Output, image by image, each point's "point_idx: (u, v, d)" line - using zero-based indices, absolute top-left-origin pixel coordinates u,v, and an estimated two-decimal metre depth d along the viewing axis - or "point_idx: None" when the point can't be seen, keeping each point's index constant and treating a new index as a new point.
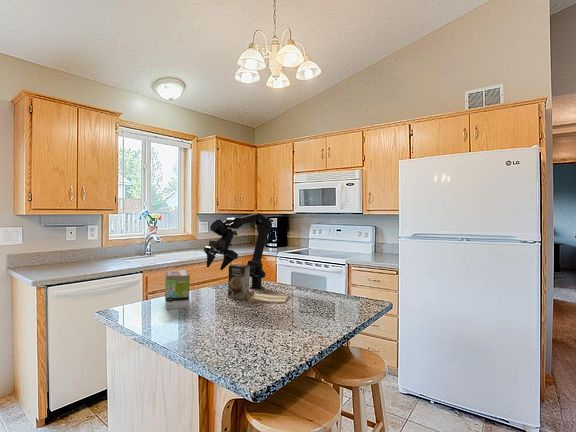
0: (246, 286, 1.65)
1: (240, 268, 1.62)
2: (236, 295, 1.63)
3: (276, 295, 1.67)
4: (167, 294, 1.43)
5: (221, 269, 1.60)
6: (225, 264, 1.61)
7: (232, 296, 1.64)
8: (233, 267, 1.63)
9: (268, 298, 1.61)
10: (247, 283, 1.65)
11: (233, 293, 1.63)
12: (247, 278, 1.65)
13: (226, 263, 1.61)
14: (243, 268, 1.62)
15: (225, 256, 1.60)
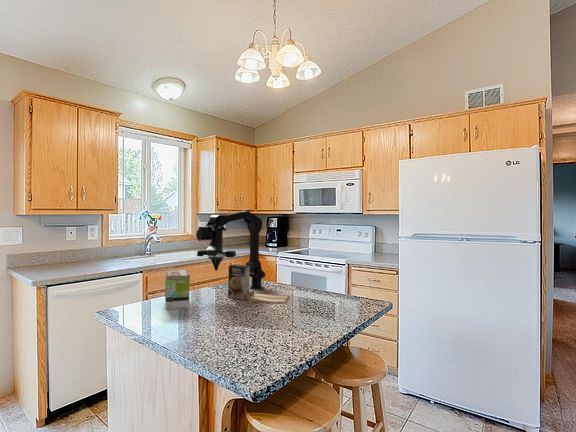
0: (246, 286, 1.65)
1: (240, 268, 1.62)
2: (236, 295, 1.63)
3: (276, 295, 1.67)
4: (167, 294, 1.43)
5: None
6: (219, 264, 1.68)
7: (232, 296, 1.64)
8: (233, 267, 1.63)
9: (268, 298, 1.61)
10: (247, 283, 1.65)
11: (233, 293, 1.63)
12: (247, 278, 1.65)
13: (219, 262, 1.68)
14: (243, 268, 1.62)
15: (218, 258, 1.65)
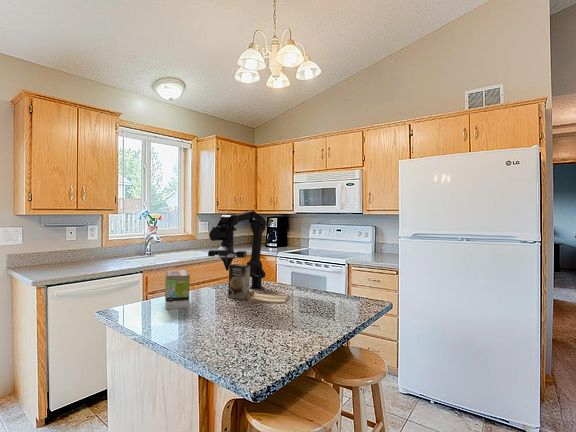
0: (247, 286, 1.65)
1: (241, 268, 1.62)
2: (236, 295, 1.63)
3: (276, 295, 1.67)
4: (167, 294, 1.43)
5: None
6: (229, 264, 1.67)
7: (232, 296, 1.64)
8: (234, 267, 1.63)
9: (268, 298, 1.61)
10: (247, 283, 1.65)
11: (233, 293, 1.63)
12: (247, 278, 1.65)
13: (230, 263, 1.67)
14: (244, 268, 1.62)
15: (229, 259, 1.64)
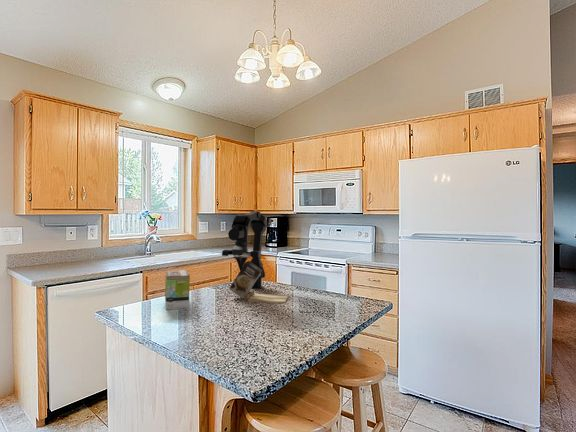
0: (250, 288, 1.64)
1: (255, 271, 1.61)
2: (237, 292, 1.62)
3: (276, 295, 1.67)
4: (167, 294, 1.43)
5: None
6: (243, 264, 1.66)
7: (233, 290, 1.62)
8: (249, 266, 1.61)
9: (268, 298, 1.61)
10: (252, 286, 1.65)
11: (236, 289, 1.62)
12: (255, 281, 1.64)
13: (244, 262, 1.66)
14: (258, 272, 1.60)
15: (243, 258, 1.63)
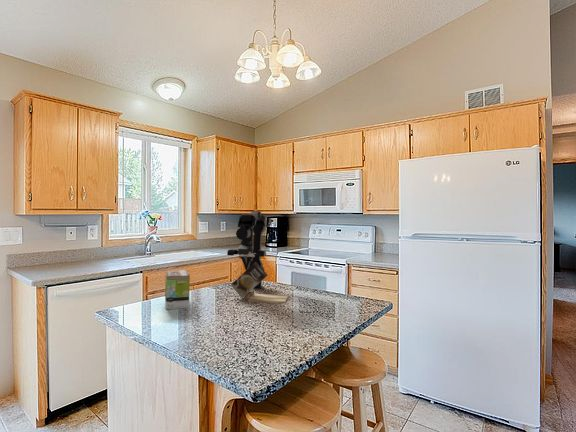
0: None
1: (260, 274, 1.60)
2: (238, 290, 1.62)
3: (276, 295, 1.67)
4: (167, 294, 1.43)
5: None
6: (249, 263, 1.65)
7: (234, 287, 1.62)
8: (256, 268, 1.61)
9: (268, 298, 1.61)
10: None
11: (237, 286, 1.62)
12: (257, 284, 1.64)
13: (249, 262, 1.66)
14: (263, 277, 1.60)
15: (249, 258, 1.62)
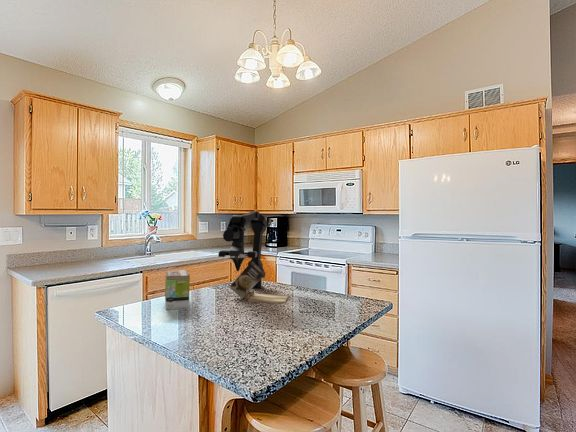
0: None
1: (258, 273, 1.61)
2: (237, 291, 1.62)
3: (276, 295, 1.67)
4: (167, 294, 1.43)
5: (238, 270, 1.66)
6: (240, 264, 1.66)
7: (233, 289, 1.62)
8: (253, 268, 1.61)
9: (268, 298, 1.61)
10: None
11: (236, 287, 1.62)
12: (256, 283, 1.64)
13: (241, 263, 1.66)
14: (261, 275, 1.60)
15: (240, 259, 1.63)
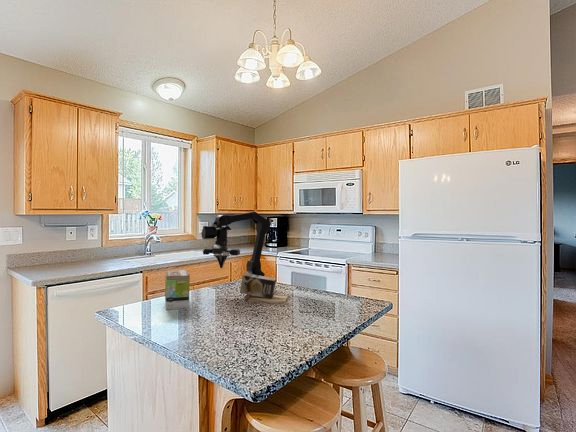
0: None
1: (270, 294, 1.60)
2: (243, 285, 1.61)
3: (276, 295, 1.67)
4: (167, 294, 1.43)
5: (222, 267, 1.75)
6: (224, 262, 1.75)
7: (243, 280, 1.61)
8: (271, 286, 1.59)
9: (268, 298, 1.61)
10: None
11: (245, 282, 1.61)
12: None
13: (224, 260, 1.76)
14: (270, 297, 1.60)
15: (223, 256, 1.72)
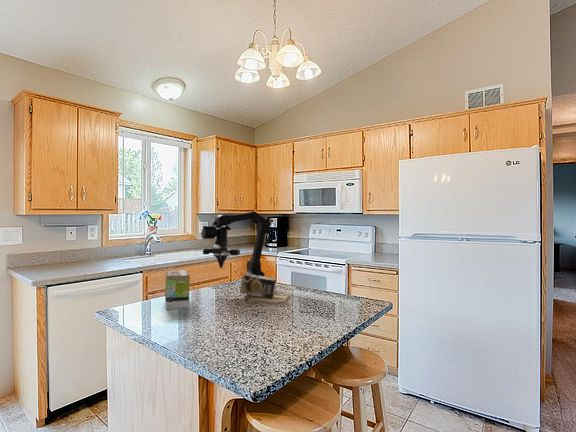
0: None
1: (270, 294, 1.60)
2: (243, 285, 1.61)
3: (276, 295, 1.67)
4: (167, 294, 1.43)
5: None
6: (223, 261, 1.75)
7: (243, 280, 1.61)
8: (271, 286, 1.59)
9: (268, 298, 1.61)
10: None
11: (245, 282, 1.61)
12: None
13: (224, 260, 1.76)
14: (270, 297, 1.60)
15: (223, 256, 1.73)
